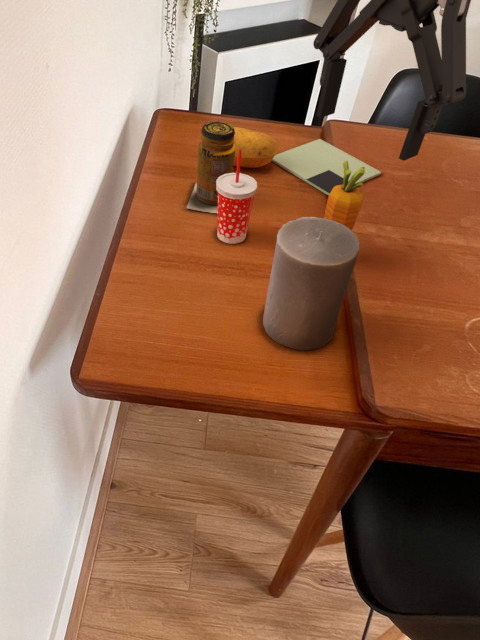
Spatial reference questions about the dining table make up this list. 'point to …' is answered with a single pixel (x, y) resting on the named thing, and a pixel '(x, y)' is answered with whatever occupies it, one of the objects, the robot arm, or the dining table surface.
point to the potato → (253, 148)
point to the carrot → (346, 199)
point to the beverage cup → (234, 204)
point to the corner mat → (322, 165)
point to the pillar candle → (309, 281)
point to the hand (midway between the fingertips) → (364, 134)
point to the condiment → (212, 164)
